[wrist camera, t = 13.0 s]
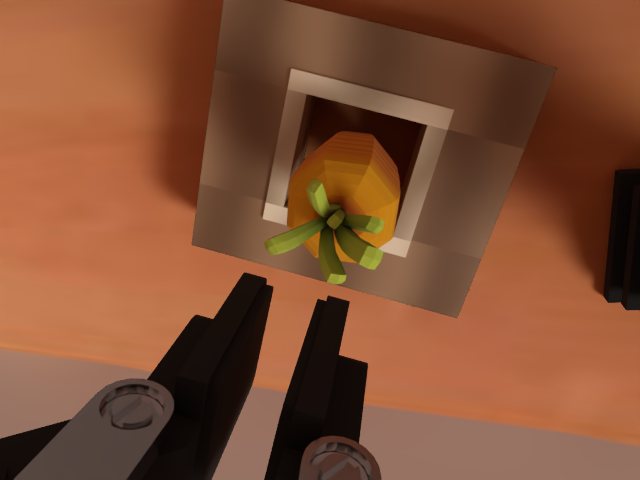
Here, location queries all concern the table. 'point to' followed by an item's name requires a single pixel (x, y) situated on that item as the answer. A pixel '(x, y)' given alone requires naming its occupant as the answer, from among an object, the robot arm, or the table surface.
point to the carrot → (342, 204)
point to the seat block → (376, 95)
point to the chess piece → (624, 242)
